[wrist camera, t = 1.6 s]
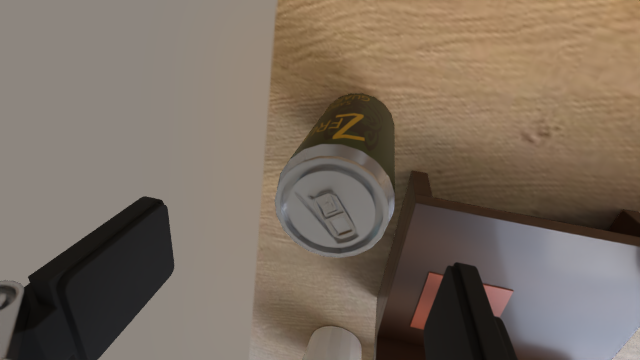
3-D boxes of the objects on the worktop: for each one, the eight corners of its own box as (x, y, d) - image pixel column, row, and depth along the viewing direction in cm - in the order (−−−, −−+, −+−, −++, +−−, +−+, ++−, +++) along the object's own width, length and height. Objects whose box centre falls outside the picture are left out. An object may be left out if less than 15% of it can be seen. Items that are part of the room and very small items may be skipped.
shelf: (411, 170, 25) (419, 229, 18) (640, 211, 23) (749, 297, 16) (376, 298, 31) (372, 379, 24) (552, 340, 29) (602, 441, 22)
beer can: (406, 143, 24) (416, 240, 13) (343, 170, 26) (309, 274, 16) (374, 76, 22) (357, 129, 12) (309, 112, 24) (246, 183, 14)
